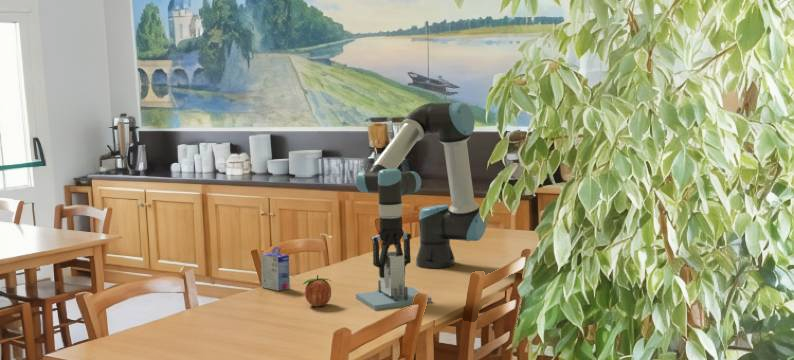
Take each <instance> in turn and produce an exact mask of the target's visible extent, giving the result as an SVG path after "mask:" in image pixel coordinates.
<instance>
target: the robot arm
mask: <svg viewBox="0 0 794 360" xmlns="http://www.w3.org/2000/svg"><path fill="white" fill-rule="evenodd" d="M475 123H476V122H475V117H474V113H473V110H472V109H471V107H470V106H469V105H468V104H466V103H464V102H457V101H456V102H428V103H425V104H424V103H423V104H422V105H420V106H418V107H416V108H415V109H414V110H413V111H411V112H410V113H409V114H407V116H406V117H405V118H404V119H403V120H402V121H401V123H400V126H399V128H400V129H399V130H398V132H397V133H396V134H395V135H394V137H393V138H392V139H391V140H390V142H389V143H388V145H386V147H385V148H384V150H383V151H382V152H381V154H380V155H379V157H378V158H377V159H376V160H375V161H374V163H373V164H372V165H371V167H370V168H369V169H368V170H366V169H365V170H361V171H359V172H358V173H357V175H356V178H355V185H356V188H357V190H358V191H359V192H361V193H368V194H378V215H379V216H380V217H379V218H378V220H379V221H378V222H379V224H378V225H379V232H378V234H377V235H375V236H371V237H370V240H371V242H372V265H373V266H375V267H377V268H378V276H379V278H380V277H381V278H382V287H384V288H387V268H385V262H386V255H387V253H388V251H389V249H390V246H391V245H393V246H394V249H395V252H397V253H398V254H402V255H404V264H405V267H407V265H408V264H411V262H412V261H411V238H412V233H409V232H405V231H404V230H403V217H402V215H403V204H402V203H403V202H402V198H403V196H407V195H413V194H414V193H416V192H418V191H419V190H420V189H421V186H422V178H421V176H420V174H419V173H418V172H416V171H412V170H411V171H409V170H407V171H401V169H399V168H398V167H400V165H401V164H402V162H403V161H404V159H405V158H406V157H407V155H408V154H409V153H410V151H411V150H412V148H413V147H414V145H416V143H417V142H419V141H421V140H422V139H423V138H424V137H425V136H427V135H437V136H438V141H439V143H441V144H442V145H443V150H444V158H445V163H446V164H445V165H446V170H447V178H448V179H447V180H448V185H449V195H450V199H451V200H450V201H451V204H450V205H448V204H437V205H431V206H425V207H423V208H421V209H420V210H419V219H418V221H419V248H418V252H417V255H416V259H415V262H416V263H415V264H416V266H417V267H420V268H424V269H444V268H449V267H453V266H455V264H456V263H455V262H456V261H455V256H454V252H453V250H452V247H451V243H450V242H451V241H450V240H455V241H464V242H465V241H466V242H479V241H480V240H481V239H482V238H483V236H484V234H485V232H486V229H487V223H488V221H487V220H488V219H487V218H488V217H487V216H486V218H485V221H484V222H483V221H482V219H481V217H480V214H479V210H480V205H479V203H478V202H477V201H475V197H474V195H475V194H474V187H473V181H472V173H471V166H470V165H471V164H470V157H469V156H470V155H469V150H468V149H469V148H468V143H467V142H468V140H470V138H471V134H473V132H474V130H475ZM402 238H403V249H402V244H401V240H402ZM380 240H381V241H382V243H381V250H380ZM380 252H381V255H380Z"/></svg>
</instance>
